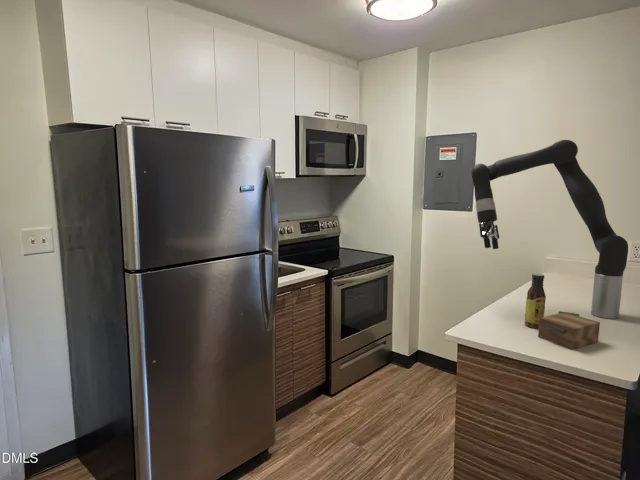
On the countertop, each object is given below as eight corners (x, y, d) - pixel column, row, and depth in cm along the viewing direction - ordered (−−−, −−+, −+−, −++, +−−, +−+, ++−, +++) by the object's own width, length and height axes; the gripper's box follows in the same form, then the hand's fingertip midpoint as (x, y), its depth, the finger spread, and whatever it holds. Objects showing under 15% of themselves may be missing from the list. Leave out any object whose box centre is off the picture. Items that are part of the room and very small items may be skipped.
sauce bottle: (536, 330, 146) (540, 277, 143) (520, 324, 152) (524, 273, 149) (547, 327, 149) (551, 275, 146) (531, 322, 155) (535, 272, 152)
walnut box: (562, 330, 146) (564, 312, 145) (598, 342, 135) (599, 322, 134) (536, 337, 139) (538, 318, 138) (571, 350, 128) (573, 329, 127)
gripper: (488, 206, 161) (494, 246, 159) (501, 210, 172) (507, 247, 169) (470, 210, 166) (476, 249, 164) (484, 214, 177) (489, 250, 174)
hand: (492, 248), depth 166 cm, fingers open, 8 cm apart
